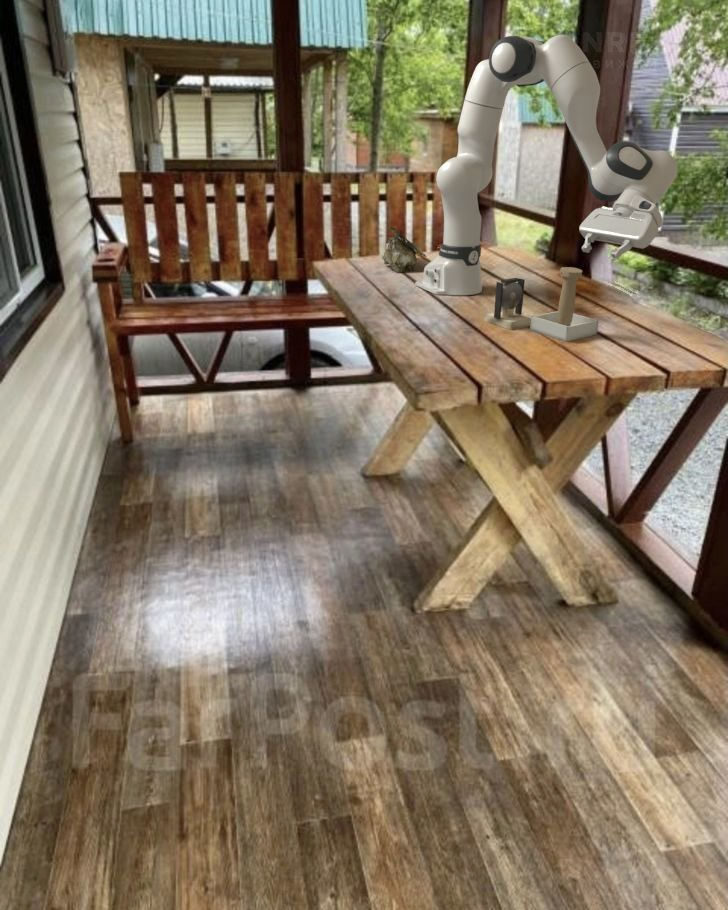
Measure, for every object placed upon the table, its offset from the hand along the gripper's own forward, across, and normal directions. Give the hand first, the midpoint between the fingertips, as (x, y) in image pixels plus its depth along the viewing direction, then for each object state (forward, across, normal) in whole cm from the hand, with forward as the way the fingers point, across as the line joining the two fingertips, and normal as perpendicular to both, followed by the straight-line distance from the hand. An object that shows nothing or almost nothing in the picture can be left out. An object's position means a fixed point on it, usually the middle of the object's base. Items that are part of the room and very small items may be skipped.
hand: (599, 253), depth 184 cm
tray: (+20, 0, +6) cm, 21 cm away
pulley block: (+24, -14, +2) cm, 28 cm away
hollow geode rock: (+9, -91, +18) cm, 93 cm away
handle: (+20, 0, +6) cm, 20 cm away
